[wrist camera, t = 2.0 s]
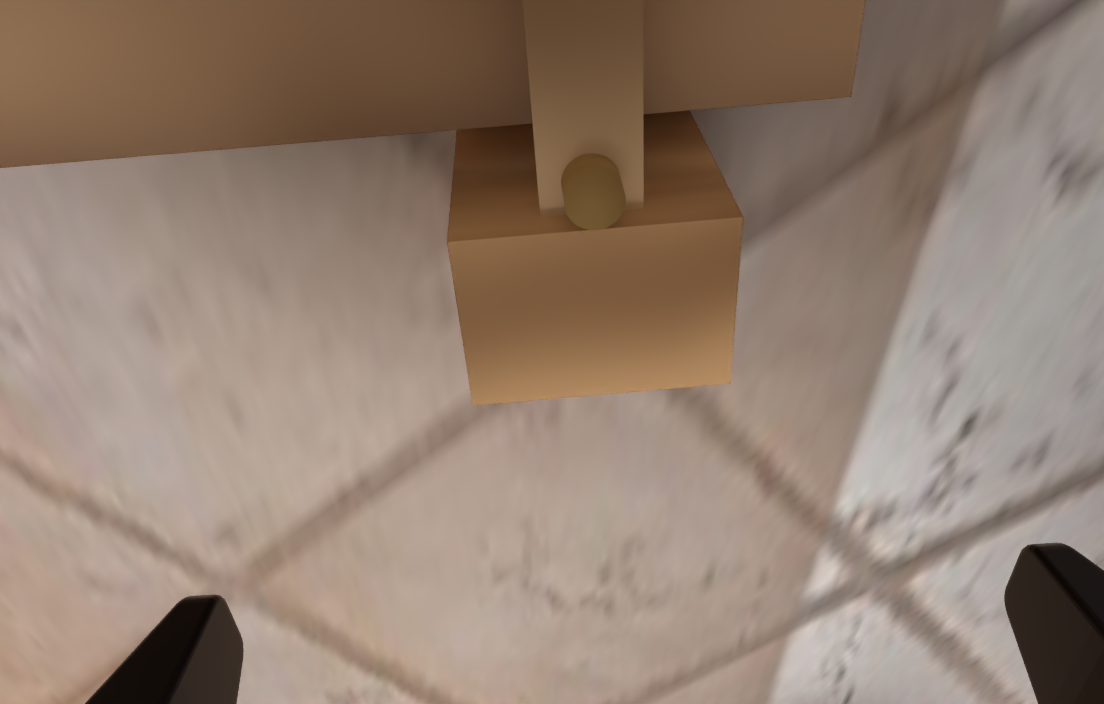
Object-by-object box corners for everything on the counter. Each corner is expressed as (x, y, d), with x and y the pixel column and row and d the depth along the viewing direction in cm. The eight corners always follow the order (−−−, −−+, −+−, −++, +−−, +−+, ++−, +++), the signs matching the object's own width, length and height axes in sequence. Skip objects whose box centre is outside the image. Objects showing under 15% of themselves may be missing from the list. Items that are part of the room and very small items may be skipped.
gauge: (684, 254, 21) (732, 390, 16) (476, 271, 20) (472, 412, 16) (700, -300, 14) (788, -309, 10) (401, -276, 14) (364, -274, 10)
